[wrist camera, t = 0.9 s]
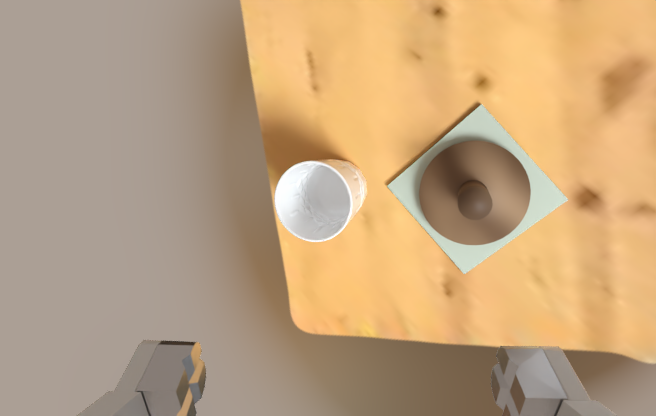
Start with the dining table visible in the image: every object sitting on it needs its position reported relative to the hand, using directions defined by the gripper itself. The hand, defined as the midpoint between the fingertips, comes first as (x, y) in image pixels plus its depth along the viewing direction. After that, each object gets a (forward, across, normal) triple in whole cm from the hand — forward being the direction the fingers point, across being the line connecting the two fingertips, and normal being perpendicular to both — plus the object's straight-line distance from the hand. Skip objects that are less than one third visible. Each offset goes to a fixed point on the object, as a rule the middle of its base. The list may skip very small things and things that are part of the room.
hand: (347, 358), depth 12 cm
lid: (+33, -14, +12) cm, 37 cm away
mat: (+33, -14, +12) cm, 38 cm away
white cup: (+37, 0, +14) cm, 39 cm away
